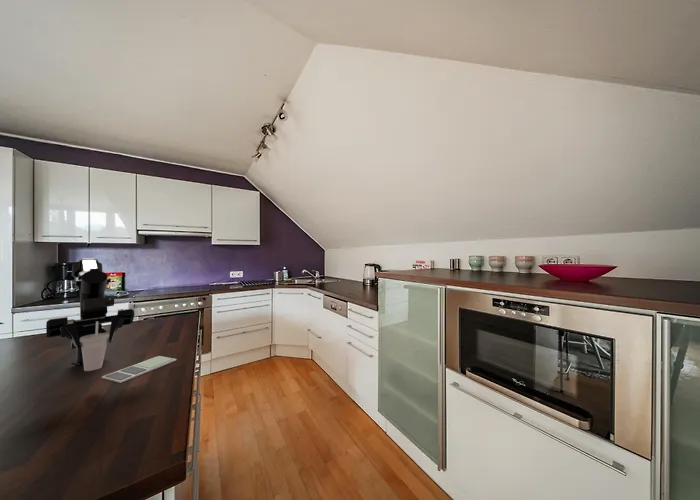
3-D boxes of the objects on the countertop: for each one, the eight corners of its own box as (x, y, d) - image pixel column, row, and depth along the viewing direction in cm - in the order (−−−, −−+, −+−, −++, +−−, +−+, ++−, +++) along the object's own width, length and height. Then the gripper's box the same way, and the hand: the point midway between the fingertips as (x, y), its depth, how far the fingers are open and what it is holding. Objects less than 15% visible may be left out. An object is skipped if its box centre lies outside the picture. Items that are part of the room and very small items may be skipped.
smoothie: (88, 374, 69) (90, 324, 70) (71, 372, 71) (73, 323, 71) (113, 364, 76) (116, 319, 76) (97, 362, 77) (100, 318, 77)
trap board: (101, 378, 79) (101, 376, 79) (158, 357, 96) (158, 355, 96) (120, 383, 76) (120, 381, 76) (176, 360, 92) (176, 358, 92)
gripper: (47, 291, 69) (44, 338, 62) (133, 285, 83) (139, 322, 76) (48, 314, 74) (45, 361, 67) (129, 304, 88) (134, 342, 81)
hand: (95, 345), depth 73 cm, fingers closed on smoothie, 6 cm apart
